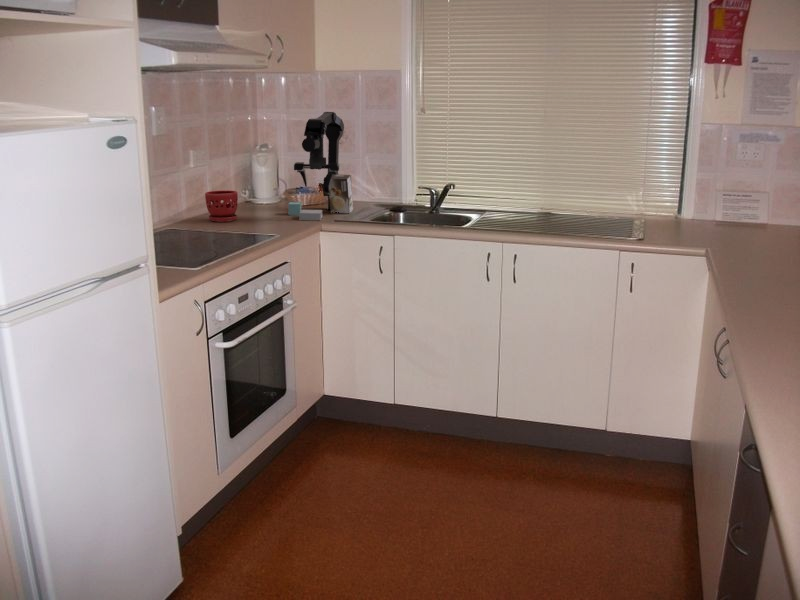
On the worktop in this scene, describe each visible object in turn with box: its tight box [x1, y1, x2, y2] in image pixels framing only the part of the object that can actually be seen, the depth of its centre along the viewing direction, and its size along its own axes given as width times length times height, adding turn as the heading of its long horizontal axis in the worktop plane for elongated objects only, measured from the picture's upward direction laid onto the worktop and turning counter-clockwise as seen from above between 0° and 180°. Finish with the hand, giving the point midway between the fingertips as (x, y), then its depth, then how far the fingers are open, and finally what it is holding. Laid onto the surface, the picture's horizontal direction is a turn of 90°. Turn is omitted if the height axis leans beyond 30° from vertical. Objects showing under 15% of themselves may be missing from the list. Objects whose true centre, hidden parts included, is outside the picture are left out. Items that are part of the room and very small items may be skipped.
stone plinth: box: [298, 209, 323, 221], centre depth 341 cm, size 9×9×3 cm
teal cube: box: [287, 201, 302, 216], centre depth 351 cm, size 5×5×5 cm
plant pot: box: [204, 189, 239, 223], centre depth 332 cm, size 13×13×12 cm
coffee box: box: [329, 174, 354, 214], centre depth 355 cm, size 9×6×16 cm
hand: (317, 186), depth 340 cm, fingers open, 9 cm apart
